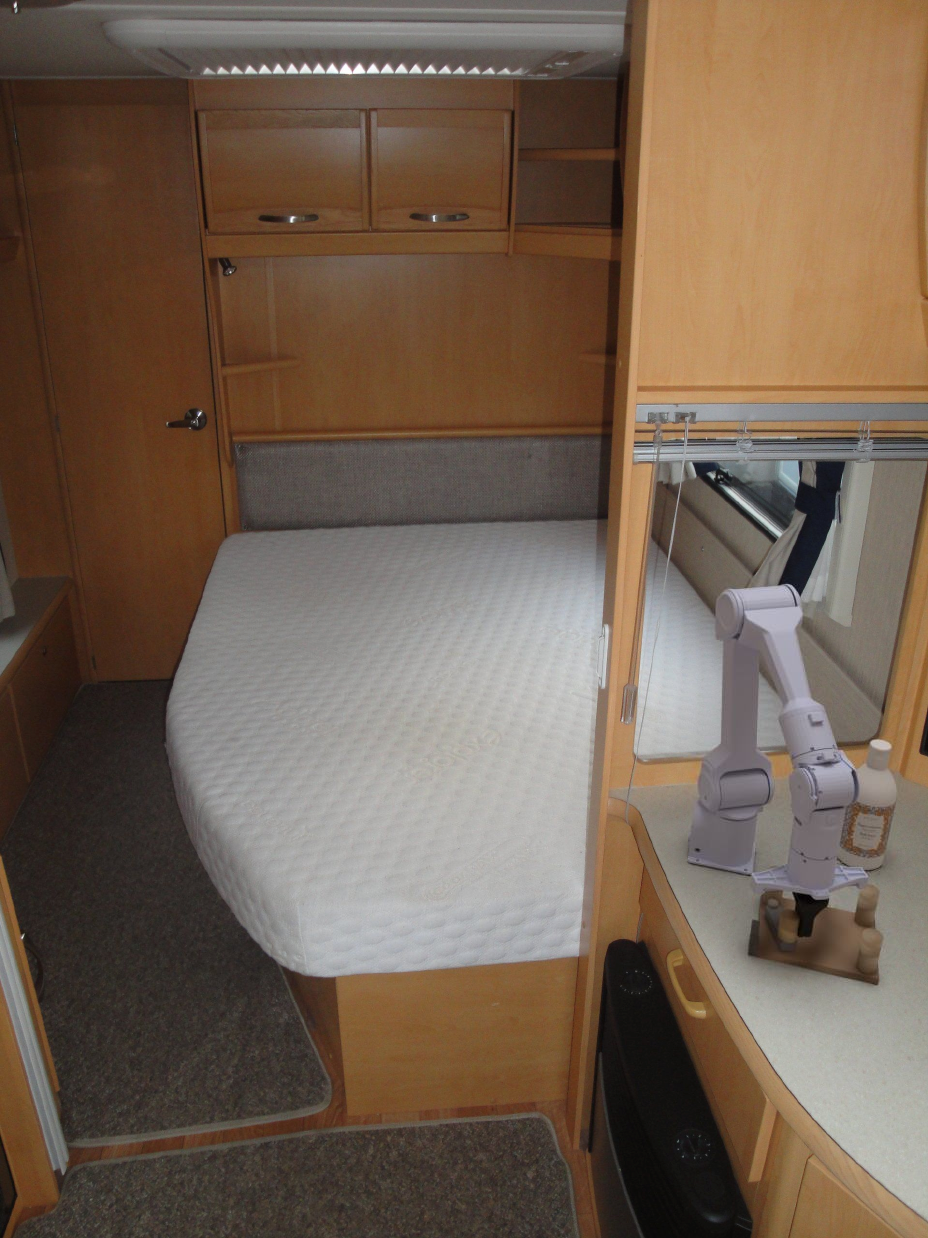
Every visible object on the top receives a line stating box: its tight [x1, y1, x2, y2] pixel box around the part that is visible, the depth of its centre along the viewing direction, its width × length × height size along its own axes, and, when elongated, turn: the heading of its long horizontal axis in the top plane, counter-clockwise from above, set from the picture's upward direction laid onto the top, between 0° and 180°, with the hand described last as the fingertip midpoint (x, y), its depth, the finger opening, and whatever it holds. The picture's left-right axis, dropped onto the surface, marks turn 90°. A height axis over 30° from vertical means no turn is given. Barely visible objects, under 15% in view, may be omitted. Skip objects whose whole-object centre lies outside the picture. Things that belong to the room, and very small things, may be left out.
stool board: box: [747, 865, 884, 986], centre depth 125 cm, size 16×12×6 cm
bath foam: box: [837, 739, 898, 871], centre depth 138 cm, size 7×7×20 cm
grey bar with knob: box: [764, 899, 800, 951], centre depth 124 cm, size 8×2×5 cm, turn 1°
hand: (800, 932), depth 122 cm, fingers closed, pressing on grey bar with knob
